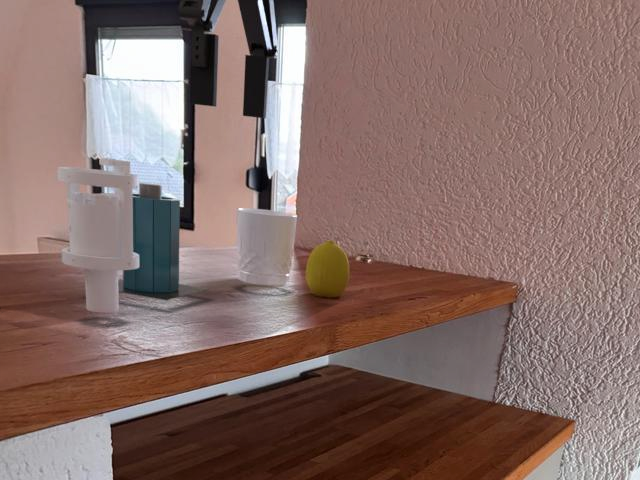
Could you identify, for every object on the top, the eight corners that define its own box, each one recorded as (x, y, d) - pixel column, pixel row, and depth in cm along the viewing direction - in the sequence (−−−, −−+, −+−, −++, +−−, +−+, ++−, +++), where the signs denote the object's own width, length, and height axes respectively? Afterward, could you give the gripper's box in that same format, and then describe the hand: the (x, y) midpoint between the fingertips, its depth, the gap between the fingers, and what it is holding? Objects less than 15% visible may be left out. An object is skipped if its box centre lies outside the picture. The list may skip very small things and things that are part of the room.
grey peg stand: (87, 296, 83) (83, 178, 78) (136, 286, 91) (135, 179, 86) (167, 310, 80) (167, 189, 75) (209, 298, 89) (212, 189, 84)
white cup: (283, 297, 96) (289, 217, 92) (225, 289, 96) (228, 209, 92) (297, 289, 103) (303, 214, 99) (243, 281, 104) (247, 207, 100)
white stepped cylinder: (154, 322, 74) (154, 164, 69) (103, 332, 69) (99, 159, 63) (102, 310, 77) (97, 156, 71) (48, 318, 71) (39, 151, 65)
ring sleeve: (111, 286, 83) (109, 193, 79) (142, 280, 89) (141, 193, 85) (160, 295, 82) (160, 200, 78) (188, 288, 88) (189, 199, 84)
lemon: (295, 300, 95) (300, 236, 92) (328, 299, 98) (334, 237, 95) (320, 309, 91) (326, 242, 88) (354, 307, 95) (361, 243, 92)
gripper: (219, -173, 63) (211, 102, 71) (313, -77, 85) (299, 124, 93) (141, -175, 64) (142, 95, 73) (253, -80, 87) (244, 118, 95)
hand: (230, 112), depth 83 cm, fingers open, 13 cm apart
